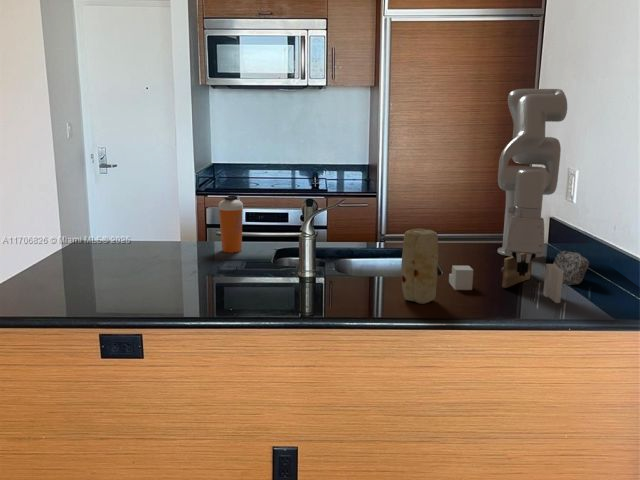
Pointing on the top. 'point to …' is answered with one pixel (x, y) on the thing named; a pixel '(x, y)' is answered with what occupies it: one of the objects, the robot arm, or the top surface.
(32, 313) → the top surface
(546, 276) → the door frame
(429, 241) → the food model
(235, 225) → the shaker bottle
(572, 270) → the rock
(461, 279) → the white stepped block
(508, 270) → the door
